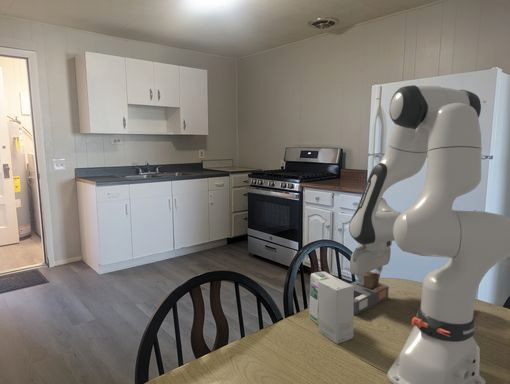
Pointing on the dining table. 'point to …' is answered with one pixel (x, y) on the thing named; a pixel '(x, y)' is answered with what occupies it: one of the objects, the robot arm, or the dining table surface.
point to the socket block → (368, 296)
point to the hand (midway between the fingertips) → (369, 281)
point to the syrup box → (316, 293)
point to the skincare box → (335, 309)
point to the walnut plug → (371, 280)
